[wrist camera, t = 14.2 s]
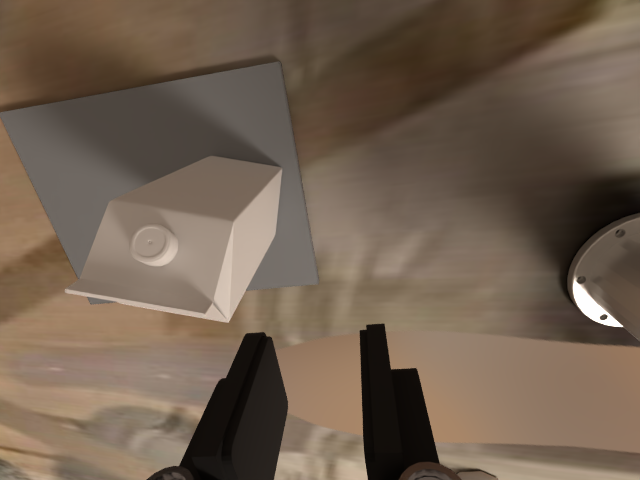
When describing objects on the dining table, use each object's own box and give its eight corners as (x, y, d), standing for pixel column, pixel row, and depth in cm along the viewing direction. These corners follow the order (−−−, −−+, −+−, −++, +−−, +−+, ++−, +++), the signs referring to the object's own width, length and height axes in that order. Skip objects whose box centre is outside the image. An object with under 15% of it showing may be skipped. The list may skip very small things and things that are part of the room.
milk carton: (276, 234, 36) (204, 369, 18) (209, 223, 36) (74, 346, 18) (283, 166, 33) (205, 250, 15) (210, 154, 33) (52, 224, 15)
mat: (281, 62, 30) (279, 61, 29) (319, 280, 38) (318, 284, 38) (6, 112, 34) (-2, 112, 33) (95, 300, 42) (90, 304, 41)
